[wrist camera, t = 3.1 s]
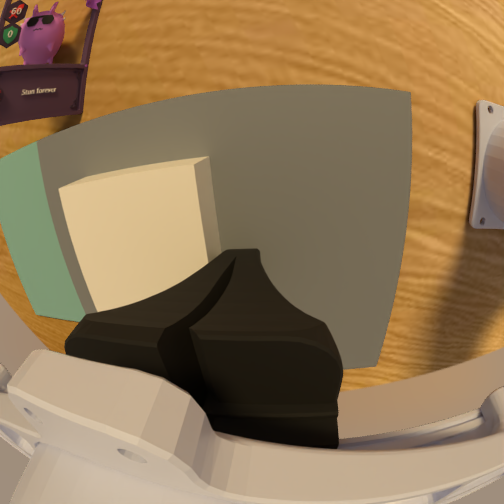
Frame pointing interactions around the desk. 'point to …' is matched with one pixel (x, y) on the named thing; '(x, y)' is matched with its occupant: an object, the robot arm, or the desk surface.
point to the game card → (41, 65)
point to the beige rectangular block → (142, 228)
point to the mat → (35, 237)
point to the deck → (275, 189)
